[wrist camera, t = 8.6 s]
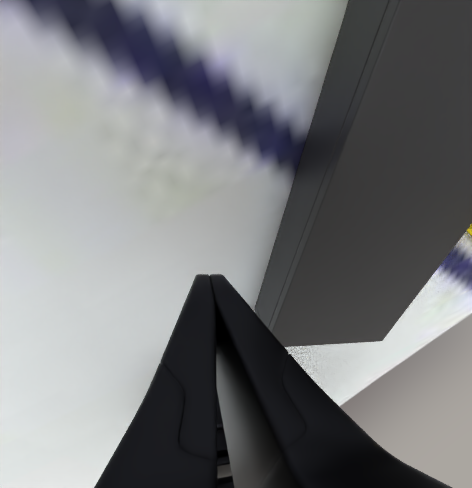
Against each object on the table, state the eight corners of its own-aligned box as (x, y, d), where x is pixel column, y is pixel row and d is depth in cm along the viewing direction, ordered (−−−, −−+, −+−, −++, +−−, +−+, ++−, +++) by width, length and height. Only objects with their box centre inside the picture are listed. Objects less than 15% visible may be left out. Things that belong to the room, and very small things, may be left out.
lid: (358, 306, 24) (382, 341, 21) (254, 309, 22) (265, 348, 19) (540, 10, 13) (643, 1, 10) (363, -51, 10) (433, -86, 8)
